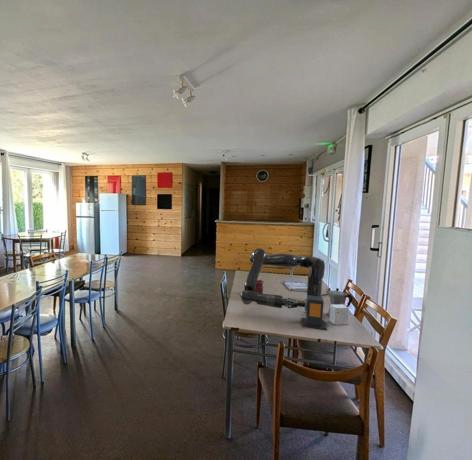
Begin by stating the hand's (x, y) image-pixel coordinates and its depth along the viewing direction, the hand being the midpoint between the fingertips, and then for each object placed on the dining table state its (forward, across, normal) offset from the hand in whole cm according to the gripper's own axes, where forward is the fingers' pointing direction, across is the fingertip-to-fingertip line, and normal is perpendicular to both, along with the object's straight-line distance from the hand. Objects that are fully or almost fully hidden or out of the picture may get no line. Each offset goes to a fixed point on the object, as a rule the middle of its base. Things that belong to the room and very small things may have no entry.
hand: (304, 305), depth 172 cm
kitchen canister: (-33, +39, +11) cm, 52 cm away
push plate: (+1, 0, +3) cm, 3 cm away
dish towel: (-2, +79, +11) cm, 80 cm away
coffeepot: (+20, +19, +11) cm, 30 cm away
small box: (+19, +8, +11) cm, 24 cm away
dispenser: (+5, 0, +11) cm, 12 cm away
